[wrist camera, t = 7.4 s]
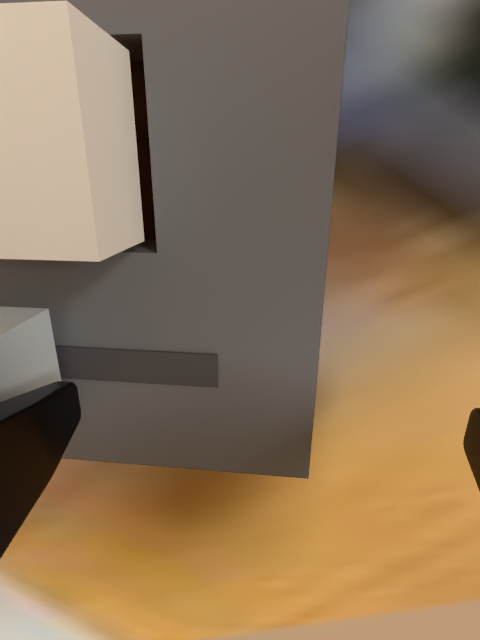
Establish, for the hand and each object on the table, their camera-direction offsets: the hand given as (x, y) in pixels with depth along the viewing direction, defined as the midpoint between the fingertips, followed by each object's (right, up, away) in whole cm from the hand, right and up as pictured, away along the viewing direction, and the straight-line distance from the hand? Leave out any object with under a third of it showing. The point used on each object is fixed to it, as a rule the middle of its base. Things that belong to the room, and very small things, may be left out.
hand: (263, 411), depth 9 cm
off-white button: (-5, +6, 0) cm, 8 cm away
